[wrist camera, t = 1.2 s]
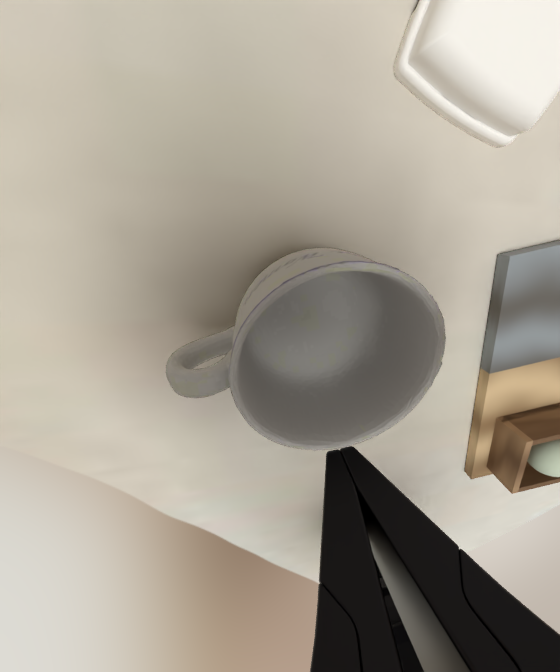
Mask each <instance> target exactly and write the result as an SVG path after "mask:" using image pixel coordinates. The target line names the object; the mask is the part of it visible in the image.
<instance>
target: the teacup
mask: <svg viewBox="0 0 560 672" xmlns="http://www.w3.org/2000/svg"><path fill="white" fill-rule="evenodd" d="M445 339H446V337H445V328H444V320H443V317H442V314H441V311H440V309H439V307H438V305H437V303H436V302H435V300H434V299H433V296H432V295H430V294H429V292H428V291H427V290H426V288H425V287H424V286H423V285H422V284H420V283H419V282H418V281H417V280H415V279H414V278H412V277H411V276H410V275H408V274H406V273H404V272H402V271H400V270H399V269H397V268H394V267H391V266H388V265H385V264H381V263H377V262H375V261H372V260H370V259H368V258H365V257H363V256H360V255H358V254H355V253H352V252H348V251H344V250H340V249H333V248H311V249H304V250H301V251H297V252H294V253H291V254H289V255H286V256H284V257H282V258H280V259H279V260H277V261H275V262H274V263H272V264H271V265H269V266H268V267H267V268H266V269H265V270H263V271H262V272H261V273H260V274H259V275H258V276H257V277H256V279H255V280H254V281H253V282H252V284H251V285H250V286H249V288H248V289H247V291H246V293H245V295H244V297H243V299H242V301H241V304H240V306H239V309H238V313H237V317H236V322H235V326H232V327H230V328H229V329H227V330H225V331H223V332H219V333H216V334H213V335H210V336H207V337H204V338H201V339H199V340H196V341H193V342H191V343H189V344H187V345H185V346H183V347H181V348H179V349H178V350H177V351H175V352H174V353H173V354H172V355H171V357H170V358H169V360H168V361H167V365H166V375H167V379H168V381H169V383H170V386H171V387H172V388H173V390H174V391H175V392H176V393H178V394H179V395H182V396H184V397H189V398H201V397H208V396H211V395H214V394H216V393H218V392H221V391H223V390H225V389H227V388H229V387H230V388H231V393H232V396H233V399H234V401H235V404H236V406H237V408H238V409H239V411H240V413H241V414H242V416H243V417H244V419H245V420H246V421H247V423H248V424H249V425H250V426H251V427H252V428H253V429H254V430H256V431H257V432H258V433H259V434H261V435H263V436H264V437H266V438H267V439H269V440H271V441H274V442H276V443H279V444H281V445H284V446H288V447H292V448H297V449H305V450H330V449H337V448H343V447H347V446H350V445H354V444H357V443H360V442H363V441H365V440H367V439H370V438H372V437H374V436H377V435H379V434H380V433H382V432H384V431H385V430H387V429H389V428H390V427H392V426H393V425H395V424H396V423H398V422H399V421H400V420H401V419H403V418H404V417H405V416H406V415H407V414H408V413H409V412H411V410H412V409H413V408H414V407H415V406H416V405H417V404H418V403H419V402H420V401H421V399H422V398H423V396H424V395H425V393H426V392H427V391H428V389H429V388H430V386H431V385H432V383H433V381H434V378H435V377H436V375H437V373H438V372H439V369H440V367H441V365H442V357H443V354H444V348H445ZM224 354H226V356H225V357H224V358H223V359H222V360H221V361H219V362H217V363H216V364H214V365H212V366H209V367H206V368H202V369H193V368H195V367H196V366H198V365H199V364H201V363H203V362H206V361H208V360H210V359H212V358H215V357H218V356H221V355H224Z"/></svg>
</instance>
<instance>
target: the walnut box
mask: <svg viewBox="0 0 560 672" xmlns="http://www.w3.org/2000/svg"><path fill="white" fill-rule="evenodd" d="M557 439H560V403H556V404H551V405H547V406H543V407H539V408H535V409H531V410H526V411H522V412H518V413H514V414H510V415H505V416H501V417H497V418H496V423H495V428H494V433H493V437H492V442H491V447H490V452H489V457H488V462H487V466H486V467H487V468H488V469H489V470H490V471H491V472H492V473H493V474H494V475H495V476H496V477H497V479H498V480H499V481H500V482H501V483H502V484H503V485H504V486H505V487H506V488H507V489H508V490H509V491H510V492H511V493H512V494H513V493H517V492H521V491H525V490H529V489H533V488H537V487H541V486H545V485H550V484H554V483H558V482H560V477H552V476H548V475H545V474H543V473H540V472H539V471H537V470H535V469H534V468H533V467H532V466H531V465H530V464H529V463H528V462H527V460H528V457H529V454H530V450H531V447H532V445H537V444H541V443H545V442H549V441H553V440H557Z"/></svg>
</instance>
